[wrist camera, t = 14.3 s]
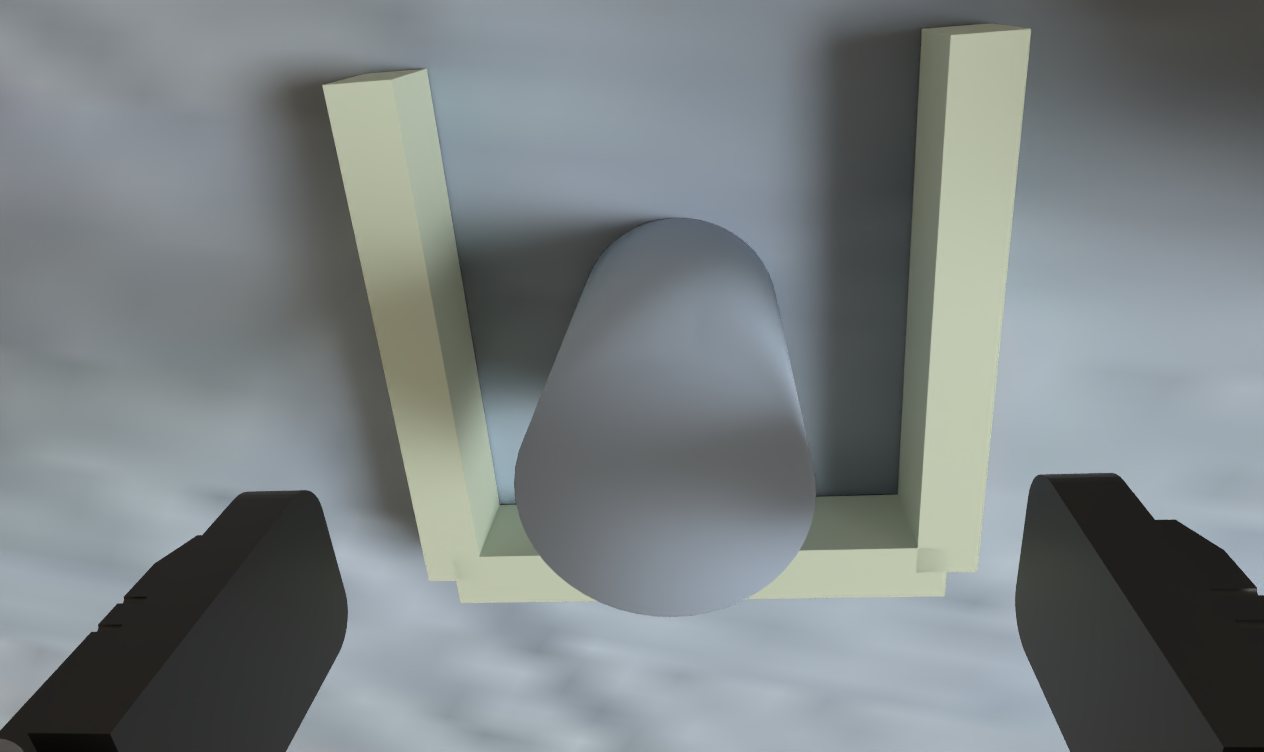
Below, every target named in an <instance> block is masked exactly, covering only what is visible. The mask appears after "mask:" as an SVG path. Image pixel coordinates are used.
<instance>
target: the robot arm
mask: <svg viewBox="0 0 1264 752" xmlns="http://www.w3.org/2000/svg"><path fill="white" fill-rule="evenodd" d="M1015 607H1016V618H1017V625H1018V630H1019V635H1020V639H1021V642H1022V645H1023V648H1024V651H1025V653H1026V656H1027V658H1028V660H1029V662H1030V664H1031V667H1032V669H1033V671H1034V673H1035V675H1036V678H1037V680H1038V682H1039V684H1040V686H1041V689H1042V691H1043V693H1044V695H1045V697H1046V699H1047V702H1048V704H1049V706H1050V708H1051V710H1052V713H1053V715H1054V717H1055V719H1056V721H1057V724H1058V726H1059V728H1060V730H1061V732H1062V735H1063V737H1064V739H1065V741H1066V743H1067V746H1068V748H1069V750H1070V752H1264V595H1260V596H1258V594H1257V587H1256V586H1255V585H1254V584H1253V583H1252V582H1251V580H1250V579H1249V578H1248V577H1247V576H1246V575H1245V574H1244V572H1243V571H1242V570H1241V569H1240V568H1239V567H1238V566H1237V564H1236V563H1235V562H1234V561H1233V560H1232V559H1231V558H1230V556H1229V555H1228V554H1227V553H1226V552H1225V551H1224V550H1223V549H1221V548H1220V547H1218V546H1216V545H1215V544H1213V543H1212V542H1210V541H1208V540H1207V539H1205V538H1204V537H1202V536H1200V535H1199V534H1197V533H1196V532H1194V531H1193V530H1191V529H1189V528H1188V527H1186V526H1185V525H1183V524H1181V523H1180V522H1178V521H1177V520H1155V519H1154V518H1153V517H1152V516H1151V514H1150V513H1149V512H1148V511H1147V509H1146V508H1145V507H1144V505H1143V504H1142V503H1141V502H1140V500H1139V499H1138V498H1137V497H1136V495H1135V494H1134V493H1133V492H1132V490H1131V489H1130V488H1129V487H1128V485H1127V484H1126V483H1125V482H1124V480H1123V479H1122V478H1121V477H1120V476H1118V475H1117V474H1114V473H1088V474H1046V475H1038V476H1036V477H1035V478H1034V480H1033V482H1032V484H1031V487H1030V490H1029V496H1028V503H1027V510H1026V518H1025V525H1024V533H1023V540H1022V547H1021V555H1020V562H1019V570H1018V577H1017V584H1016V594H1015ZM347 618H348V607H347V598H346V593H345V590H344V586H343V582H342V579H341V575H340V571H339V568H338V564H337V561H336V557H335V553H334V550H333V546H332V542H331V539H330V535H329V531H328V528H327V524H326V521H325V517H324V513H323V510H322V507H321V504H320V502H319V500H318V498H317V497H316V496H315V494H313V493H312V492H310V491H307V490H298V491H256V492H244V493H241V494H240V495H238V496H237V497H236V498H235V499H234V500H233V501H232V502H231V503H230V505H229V506H228V507H227V508H226V509H225V510H224V511H223V512H222V514H221V515H220V516H219V517H218V518H217V519H216V520H215V521H214V523H213V524H212V525H211V526H210V527H209V528H208V529H207V531H206V532H205V533H204V534H203V535H197V536H196V537H194V538H193V539H191V540H190V541H188V542H187V543H185V544H184V545H182V546H181V547H179V548H178V549H176V550H175V551H173V552H171V553H170V554H168V555H167V556H165V557H164V558H162V559H161V560H159V561H158V562H156V563H155V564H154V565H153V566H152V567H151V568H150V569H149V570H148V571H147V572H146V573H145V575H144V576H143V577H142V578H141V579H140V580H139V581H138V582H137V583H136V584H135V585H134V586H133V587H132V589H131V590H130V591H129V592H128V593H127V594H126V595H125V596H124V602H123V604H117V605H116V606H115V607H114V608H113V609H112V610H111V611H110V612H109V613H108V615H107V616H106V617H105V618H104V619H103V620H102V621H101V622H100V623H99V624H98V626H99V628H98V631H97V632H91V633H90V634H89V635H88V636H87V637H86V638H85V639H84V641H83V642H82V643H81V644H80V645H79V646H78V647H77V648H76V649H75V650H74V651H73V652H72V654H71V655H70V656H69V657H68V658H67V659H66V660H65V661H64V662H63V663H62V664H61V665H60V667H59V668H58V669H57V670H56V671H55V672H54V673H53V674H52V675H51V676H50V677H49V678H48V680H47V681H46V682H45V683H44V684H43V685H42V686H41V687H40V688H39V689H38V690H37V691H36V693H35V694H34V695H33V696H32V697H31V698H30V699H29V700H28V701H27V702H26V703H25V704H24V706H23V707H22V708H21V709H20V710H19V711H18V712H17V713H16V714H15V715H14V716H13V717H12V719H11V720H10V721H9V722H8V723H7V724H6V725H5V726H4V727H3V728H2V729H1V730H0V752H286V750H287V748H288V746H289V745H290V743H291V741H292V739H293V737H294V735H295V733H296V732H297V730H298V728H299V726H300V724H301V722H302V720H303V719H304V717H305V715H306V713H307V711H308V709H309V707H310V706H311V704H312V702H313V700H314V698H315V696H316V694H317V693H318V691H319V689H320V687H321V685H322V683H323V681H324V680H325V678H326V676H327V674H328V672H329V670H330V668H331V667H332V665H333V663H334V661H335V659H336V657H337V655H338V654H339V651H340V649H341V647H342V644H343V641H344V637H345V633H346V628H347Z"/></svg>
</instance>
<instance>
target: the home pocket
mask: <svg viewBox="0 0 1264 752" xmlns="http://www.w3.org/2000/svg"><path fill="white" fill-rule="evenodd" d="M1030 37H1031V29H1029V28H1022V27H1016V26H1009V25H1002V24H995V23H988V24H976V25H963V26H951V27H939V28H926V29H922V36H921V55H920V75H919V94H918V114H917V133H916V152H915V172H914V191H913V210H912V230H911V249H910V268H909V288H908V307H907V326H906V346H905V365H904V384H903V404H902V423H901V442H900V462H899V481H898V495H865V496H827V497H816V500H815V510H814V515H813V519H812V523H811V527H810V529H809V532H808V534H807V536H806V539H805V541H804V543H803V545H802V547H801V548H800V550H799V552H798V553H797V555H796V557H795V558H794V559H793V560H792V562H791V563H790V564H789V565H788V567H787V568H786V569H785V570H784V571H783V572H782V573H781V574H780V575H779V576H778V577H777V578H776V579H775V580H774V581H773V582H771V583H770V584H769V585H767V586H766V587H764V588H763V589H762V590H760V591H759V592H757V593H756V594H754V595H752V596H750V597H749V598H747V599H780V598H852V597H923V596H945V586H946V574H947V572H977V570H978V560H979V550H980V540H981V530H982V520H983V510H984V500H985V490H986V480H987V470H988V460H989V450H990V440H991V430H992V419H993V409H994V399H995V389H996V379H997V369H998V359H999V349H1000V339H1001V329H1002V319H1003V309H1004V299H1005V289H1006V279H1007V269H1008V259H1009V249H1010V239H1011V228H1012V218H1013V208H1014V198H1015V188H1016V178H1017V168H1018V158H1019V148H1020V138H1021V128H1022V118H1023V108H1024V98H1025V88H1026V78H1027V68H1028V58H1029V48H1030ZM322 86H323V91H324V95H325V100H326V104H327V109H328V114H329V118H330V123H331V128H332V132H333V137H334V142H335V146H336V151H337V156H338V160H339V165H340V170H341V174H342V179H343V183H344V188H345V193H346V197H347V202H348V207H349V211H350V216H351V221H352V225H353V230H354V235H355V239H356V244H357V249H358V253H359V258H360V262H361V267H362V272H363V276H364V281H365V286H366V290H367V295H368V300H369V304H370V309H371V314H372V318H373V323H374V327H375V332H376V337H377V341H378V346H379V351H380V355H381V360H382V365H383V369H384V374H385V379H386V383H387V388H388V393H389V397H390V402H391V406H392V411H393V416H394V420H395V425H396V430H397V434H398V439H399V444H400V448H401V453H402V458H403V462H404V467H405V472H406V476H407V481H408V485H409V490H410V495H411V499H412V504H413V509H414V513H415V518H416V523H417V527H418V532H419V537H420V541H421V546H422V550H423V555H424V560H425V564H426V569H427V574H428V578H429V581H456V582H457V587H458V592H459V597H460V602H461V603H495V602H566V601H596V600H594V599H592V598H590V597H588V596H586V595H584V594H583V593H581V592H580V591H578V590H577V589H575V588H574V587H572V586H570V585H569V584H568V583H567V582H565V581H564V580H563V579H562V578H561V577H559V576H558V575H557V574H556V573H555V572H554V571H553V570H552V569H551V568H550V567H549V566H548V565H547V564H546V563H545V562H544V561H543V559H542V558H541V557H540V555H539V554H538V553H537V551H536V550H535V549H534V547H533V545H532V543H531V542H530V540H529V538H528V536H527V535H526V533H525V530H524V528H523V525H522V523H521V520H520V517H519V513H518V509H517V505H500V504H499V498H498V492H497V486H496V480H495V474H494V468H493V462H492V456H491V450H490V444H489V438H488V432H487V426H486V420H485V414H484V408H483V402H482V396H481V390H480V384H479V378H478V372H477V366H476V360H475V354H474V348H473V342H472V336H471V330H470V324H469V318H468V312H467V306H466V300H465V294H464V288H463V282H462V276H461V270H460V264H459V258H458V253H457V247H456V241H455V235H454V229H453V223H452V217H451V211H450V205H449V199H448V193H447V187H446V181H445V175H444V169H443V163H442V157H441V151H440V145H439V139H438V133H437V127H436V121H435V115H434V109H433V103H432V97H431V91H430V85H429V79H428V73H427V69H416V70H404V71H392V72H379V73H367V74H362V75H358V76H354V77H351V78H347V79H343V80H339V81H336V82H332V83H328V84H325V85H322Z"/></svg>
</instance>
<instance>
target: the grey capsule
mask: <svg viewBox="0 0 1264 752" xmlns="http://www.w3.org/2000/svg"><path fill="white" fill-rule="evenodd" d="M514 489H515V501H516V505H517V509H518V513H519V517H520V520H521V523H522V525H523V528H524V530H525V533H526V535H527V536H528V538H529V540H530V542H531V543H532V545H533V547H534V549H535V550H536V551H537V553H538V554H539V555H540V557H541V558H542V559H543V561H544V562H545V563H546V564H547V565H548V566H549V567H550V568H551V569H552V570H553V571H554V572H555V573H556V574H557V575H558V576H559V577H561V578H562V579H563V580H564V581H565V582H567V583H568V584H569V585H570V586H572V587H574V588H575V589H577V590H578V591H580V592H581V593H583V594H584V595H586V596H588V597H590V598H592V599H594V600H596V601H598V602H600V603H603V604H606V605H608V606H611V607H614V608H617V609H620V610H624V611H628V612H632V613H636V614H642V615H649V616H662V617H679V616H692V615H698V614H704V613H709V612H713V611H716V610H720V609H723V608H726V607H729V606H731V605H734V604H736V603H738V602H741V601H743V600H745V599H747V598H749V597H750V596H752V595H754V594H756V593H757V592H759V591H760V590H762V589H763V588H764V587H766V586H767V585H769V584H770V583H771V582H773V581H774V580H775V579H776V578H777V577H778V576H779V575H780V574H781V573H782V572H783V571H784V570H785V569H786V568H787V567H788V565H789V564H790V563H791V562H792V560H793V559H794V558H795V557H796V555H797V553H798V552H799V550H800V548H801V547H802V545H803V543H804V541H805V539H806V536H807V534H808V532H809V529H810V527H811V523H812V519H813V515H814V510H815V500H816V484H815V474H814V469H813V465H812V460H811V455H810V451H809V446H808V442H807V437H806V432H805V428H804V423H803V419H802V414H801V410H800V405H799V400H798V396H797V391H796V387H795V382H794V377H793V373H792V368H791V364H790V359H789V354H788V350H787V345H786V341H785V336H784V332H783V327H782V322H781V318H780V313H779V309H778V304H777V299H776V295H775V291H774V286H773V283H772V280H771V278H770V275H769V273H768V271H767V269H766V267H765V266H764V264H763V262H762V261H761V259H760V258H759V257H758V255H757V254H756V253H755V252H754V250H753V249H752V248H751V247H750V246H749V245H748V244H747V243H745V242H744V241H743V240H742V239H740V238H739V237H738V236H736V235H735V234H733V233H731V232H730V231H728V230H726V229H724V228H722V227H720V226H717V225H715V224H712V223H709V222H705V221H701V220H696V219H689V218H670V219H662V220H657V221H653V222H649V223H646V224H643V225H641V226H638V227H636V228H634V229H632V230H630V231H628V232H627V233H625V234H623V235H622V236H621V237H619V238H618V239H617V240H615V241H614V242H613V243H612V244H611V245H610V246H609V247H608V248H607V249H606V250H605V251H604V252H603V253H602V255H601V256H600V257H599V259H598V260H597V261H596V263H595V265H594V267H593V268H592V270H591V272H590V275H589V277H588V280H587V282H586V285H585V287H584V290H583V292H582V295H581V297H580V300H579V302H578V305H577V307H576V310H575V312H574V315H573V317H572V320H571V322H570V325H569V327H568V330H567V332H566V335H565V337H564V340H563V342H562V345H561V347H560V350H559V352H558V355H557V357H556V359H555V362H554V364H553V367H552V369H551V372H550V374H549V377H548V379H547V382H546V384H545V387H544V389H543V392H542V394H541V397H540V399H539V402H538V404H537V407H536V409H535V412H534V414H533V417H532V419H531V422H530V424H529V427H528V429H527V432H526V434H525V437H524V439H523V442H522V444H521V447H520V450H519V453H518V458H517V462H516V466H515V479H514Z"/></svg>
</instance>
